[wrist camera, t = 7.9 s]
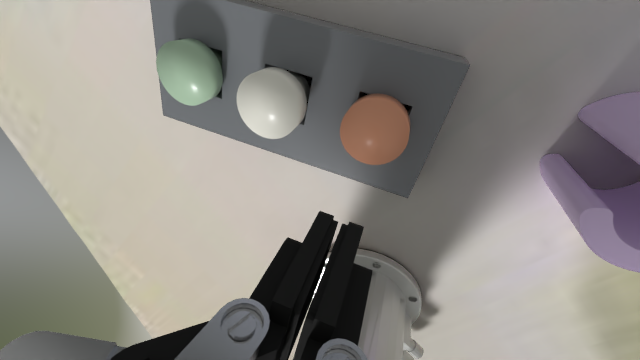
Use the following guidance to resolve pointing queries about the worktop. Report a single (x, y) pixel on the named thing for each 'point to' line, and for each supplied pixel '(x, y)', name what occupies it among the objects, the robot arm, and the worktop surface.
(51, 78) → the worktop surface
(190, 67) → the sage button
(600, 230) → the clip
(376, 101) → the terracotta button
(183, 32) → the button panel
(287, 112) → the ivory button
